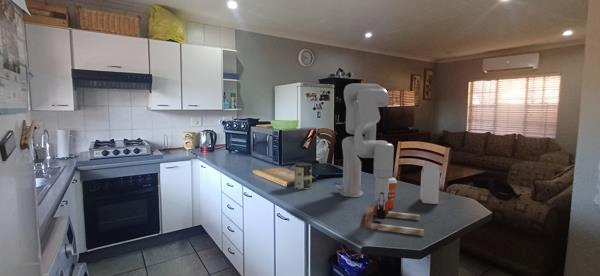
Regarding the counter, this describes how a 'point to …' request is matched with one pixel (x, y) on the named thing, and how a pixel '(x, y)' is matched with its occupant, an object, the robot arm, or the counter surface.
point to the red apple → (383, 207)
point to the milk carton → (430, 184)
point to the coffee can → (303, 175)
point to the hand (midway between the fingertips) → (381, 215)
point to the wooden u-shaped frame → (391, 228)
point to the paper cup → (391, 193)
